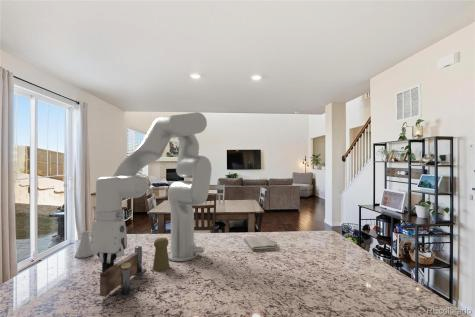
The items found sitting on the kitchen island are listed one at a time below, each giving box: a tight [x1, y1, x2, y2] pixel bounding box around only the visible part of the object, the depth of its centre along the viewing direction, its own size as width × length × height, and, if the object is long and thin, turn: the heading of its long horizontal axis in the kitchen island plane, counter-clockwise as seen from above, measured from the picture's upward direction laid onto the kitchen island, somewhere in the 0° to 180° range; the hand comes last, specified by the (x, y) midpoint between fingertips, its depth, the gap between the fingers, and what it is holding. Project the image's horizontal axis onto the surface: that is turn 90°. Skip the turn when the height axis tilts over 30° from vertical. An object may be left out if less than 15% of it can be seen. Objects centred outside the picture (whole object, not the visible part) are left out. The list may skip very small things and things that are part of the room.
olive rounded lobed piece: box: [152, 237, 171, 272], centre depth 95 cm, size 6×6×11 cm
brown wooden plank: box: [99, 252, 138, 298], centre depth 81 cm, size 17×2×6 cm, turn 170°
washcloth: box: [243, 234, 277, 253], centre depth 120 cm, size 12×18×3 cm, turn 12°
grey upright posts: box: [115, 245, 147, 299], centre depth 83 cm, size 7×19×9 cm, turn 178°
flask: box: [74, 230, 94, 259], centre depth 108 cm, size 7×7×10 cm
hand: (107, 274), depth 80 cm, fingers closed
